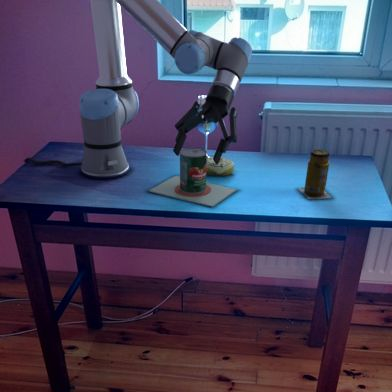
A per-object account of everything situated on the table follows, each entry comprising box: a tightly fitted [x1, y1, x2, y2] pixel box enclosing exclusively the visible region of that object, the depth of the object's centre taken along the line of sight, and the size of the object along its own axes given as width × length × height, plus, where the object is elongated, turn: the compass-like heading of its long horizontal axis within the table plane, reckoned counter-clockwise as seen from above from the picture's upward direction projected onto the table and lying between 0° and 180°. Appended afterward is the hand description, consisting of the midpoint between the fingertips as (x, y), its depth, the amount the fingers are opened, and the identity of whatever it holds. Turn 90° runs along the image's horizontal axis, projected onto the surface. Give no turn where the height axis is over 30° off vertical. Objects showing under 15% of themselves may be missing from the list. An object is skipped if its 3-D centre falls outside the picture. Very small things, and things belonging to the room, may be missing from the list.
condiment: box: [298, 149, 332, 200], centre depth 155 cm, size 7×8×12 cm
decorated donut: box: [206, 156, 236, 177], centre depth 172 cm, size 10×11×4 cm
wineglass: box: [195, 94, 219, 158], centre depth 176 cm, size 8×8×20 cm
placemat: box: [147, 175, 238, 208], centre depth 160 cm, size 22×15×1 cm
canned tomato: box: [179, 147, 208, 194], centre depth 156 cm, size 8×8×11 cm
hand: (195, 157), depth 155 cm, fingers open, 13 cm apart
